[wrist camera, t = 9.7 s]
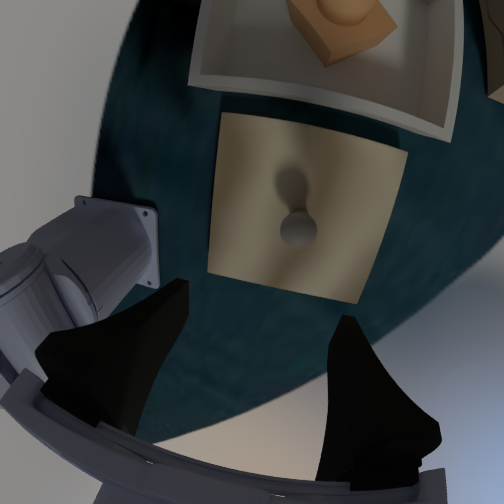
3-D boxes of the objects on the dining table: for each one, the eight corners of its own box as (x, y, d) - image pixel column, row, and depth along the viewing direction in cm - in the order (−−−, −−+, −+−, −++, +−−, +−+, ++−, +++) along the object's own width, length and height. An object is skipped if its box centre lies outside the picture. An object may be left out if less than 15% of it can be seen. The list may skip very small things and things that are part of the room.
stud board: (213, 262, 23) (192, 298, 19) (228, 112, 17) (203, 113, 13) (354, 292, 22) (361, 334, 18) (401, 149, 16) (428, 162, 12)
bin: (217, 90, 17) (187, 85, 12) (239, -36, 11) (219, -68, 7) (417, 133, 15) (450, 142, 11) (432, 4, 10) (461, -17, 5)
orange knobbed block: (325, 67, 14) (337, 38, 8) (290, 21, 13) (278, -30, 6) (376, 46, 13) (416, 10, 6) (342, -1, 11) (357, -56, 5)
